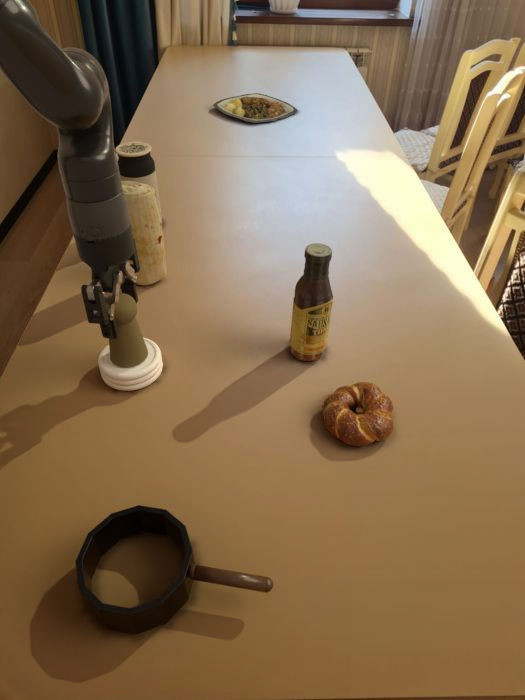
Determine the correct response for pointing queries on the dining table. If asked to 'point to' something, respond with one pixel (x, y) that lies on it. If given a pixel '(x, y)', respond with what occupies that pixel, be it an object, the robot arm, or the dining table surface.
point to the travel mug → (138, 165)
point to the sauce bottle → (312, 305)
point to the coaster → (131, 369)
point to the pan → (175, 595)
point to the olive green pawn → (127, 335)
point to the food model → (146, 231)
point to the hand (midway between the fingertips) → (121, 319)
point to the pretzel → (358, 414)
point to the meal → (255, 108)
